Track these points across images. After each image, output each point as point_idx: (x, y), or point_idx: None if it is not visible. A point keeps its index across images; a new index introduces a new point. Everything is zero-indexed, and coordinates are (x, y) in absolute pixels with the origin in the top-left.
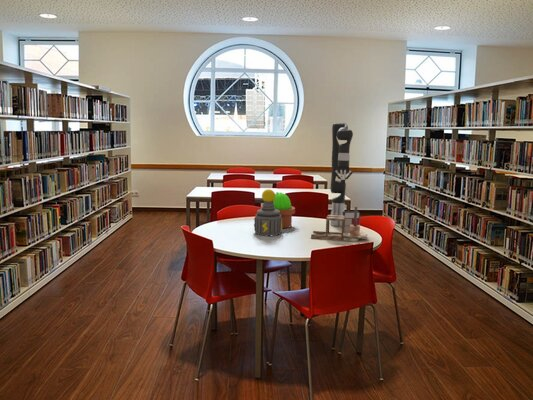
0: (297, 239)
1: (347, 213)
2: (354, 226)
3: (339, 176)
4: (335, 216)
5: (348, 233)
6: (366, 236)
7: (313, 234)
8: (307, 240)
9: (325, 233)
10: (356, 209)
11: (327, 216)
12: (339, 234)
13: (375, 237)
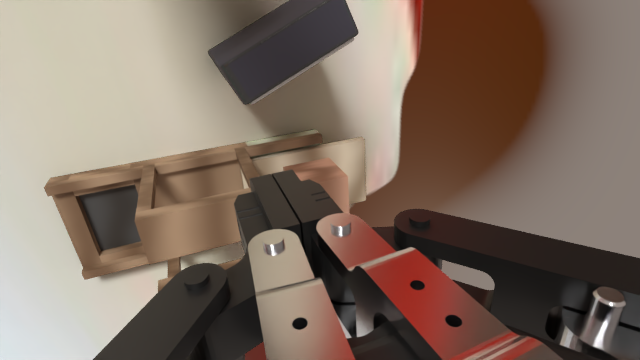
0: (31, 321)
1: (267, 93)
2: None
3: (206, 310)
4: (210, 248)
5: (273, 169)
6: (362, 191)
7: (96, 272)
8: (93, 311)
9: (136, 179)
10: None
11: (150, 261)
12: (221, 166)
13: (391, 94)
